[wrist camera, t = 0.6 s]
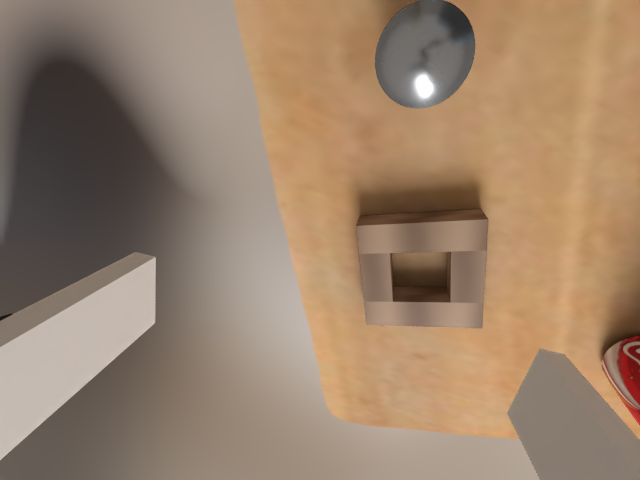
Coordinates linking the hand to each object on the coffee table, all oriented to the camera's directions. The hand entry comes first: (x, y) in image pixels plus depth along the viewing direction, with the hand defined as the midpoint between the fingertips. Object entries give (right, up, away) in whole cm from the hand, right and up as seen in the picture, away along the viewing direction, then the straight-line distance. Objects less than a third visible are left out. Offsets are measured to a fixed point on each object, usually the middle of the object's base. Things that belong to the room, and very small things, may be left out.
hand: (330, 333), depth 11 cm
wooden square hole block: (+10, +1, +23) cm, 25 cm away
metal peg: (+8, +17, +17) cm, 25 cm away
